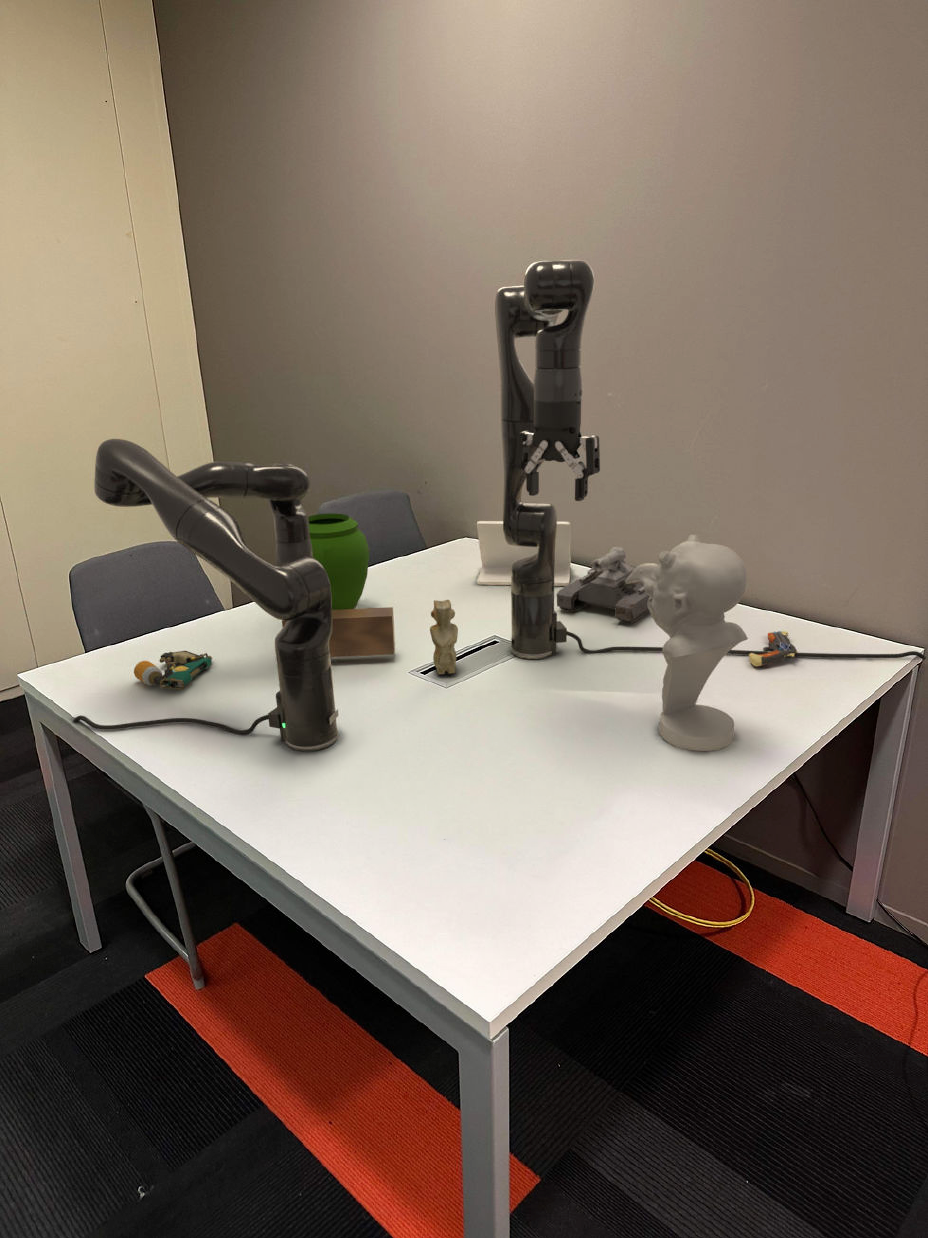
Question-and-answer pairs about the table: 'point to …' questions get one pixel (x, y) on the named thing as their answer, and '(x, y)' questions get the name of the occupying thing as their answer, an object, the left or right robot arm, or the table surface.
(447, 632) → the sculpture
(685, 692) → the bust sculpture
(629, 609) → the toy
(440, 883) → the table surface
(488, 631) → the table surface
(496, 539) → the tablet stand
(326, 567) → the vase
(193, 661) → the spray gun
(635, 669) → the table surface
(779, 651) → the toy gun
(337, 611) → the bar
